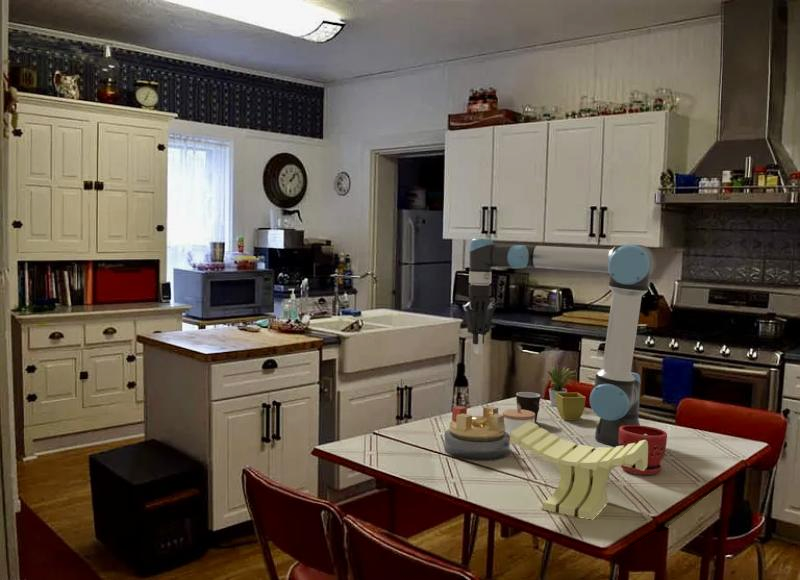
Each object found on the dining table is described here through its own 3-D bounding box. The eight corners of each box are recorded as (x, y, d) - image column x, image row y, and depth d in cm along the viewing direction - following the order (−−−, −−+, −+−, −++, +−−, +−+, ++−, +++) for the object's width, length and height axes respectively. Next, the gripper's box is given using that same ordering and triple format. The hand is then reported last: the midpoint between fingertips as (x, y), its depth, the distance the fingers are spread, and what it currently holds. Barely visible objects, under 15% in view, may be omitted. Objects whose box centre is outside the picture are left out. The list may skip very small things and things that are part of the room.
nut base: (522, 451, 227) (522, 434, 226) (483, 465, 212) (483, 447, 212) (471, 437, 240) (471, 422, 240) (431, 449, 226) (431, 433, 225)
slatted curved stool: (645, 507, 182) (648, 436, 180) (630, 528, 168) (633, 452, 166) (530, 484, 197) (532, 419, 195) (507, 502, 183) (510, 432, 182)
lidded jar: (536, 440, 239) (538, 412, 238) (504, 439, 239) (505, 411, 238) (531, 431, 249) (532, 404, 249) (500, 430, 250) (501, 403, 249)
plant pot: (660, 480, 202) (662, 438, 201) (612, 472, 208) (614, 431, 207) (668, 468, 213) (670, 427, 212) (622, 460, 219) (624, 421, 218)
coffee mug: (514, 418, 267) (515, 391, 266) (538, 419, 266) (539, 392, 265) (515, 426, 255) (516, 398, 255) (540, 428, 254) (541, 399, 254)
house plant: (569, 411, 279) (571, 369, 278) (534, 406, 286) (536, 365, 285) (580, 404, 291) (582, 364, 290) (546, 400, 298) (548, 360, 297)
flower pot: (554, 416, 272) (555, 392, 271) (576, 415, 273) (577, 392, 272) (561, 422, 263) (562, 397, 263) (585, 422, 264) (586, 397, 264)
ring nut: (471, 423, 238) (471, 402, 237) (515, 433, 226) (516, 411, 226) (438, 433, 225) (439, 411, 224) (483, 444, 214) (484, 421, 213)
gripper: (471, 285, 240) (469, 356, 242) (502, 284, 247) (500, 353, 248) (457, 283, 246) (455, 353, 248) (488, 283, 253) (486, 350, 255)
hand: (477, 353), depth 248 cm, fingers closed
